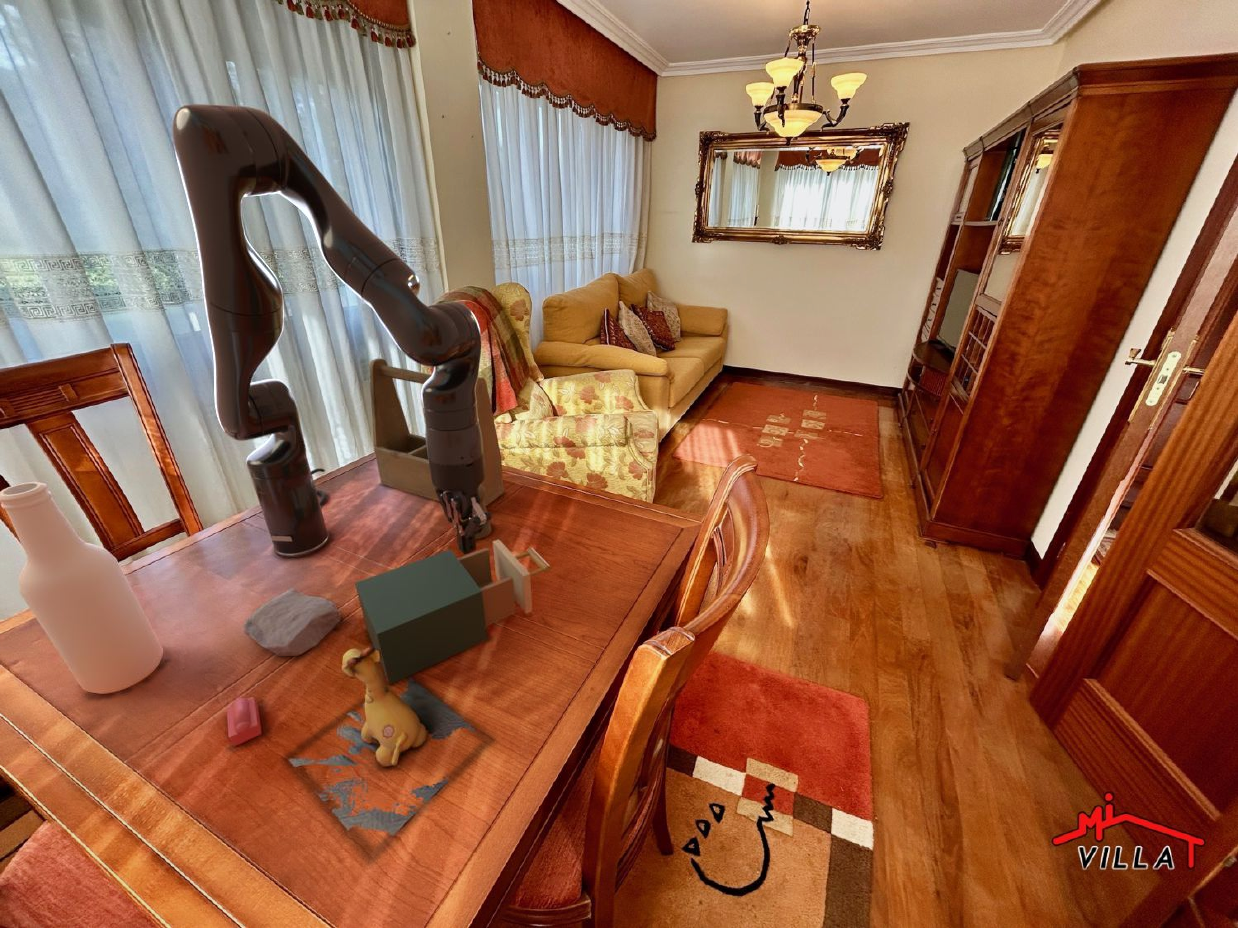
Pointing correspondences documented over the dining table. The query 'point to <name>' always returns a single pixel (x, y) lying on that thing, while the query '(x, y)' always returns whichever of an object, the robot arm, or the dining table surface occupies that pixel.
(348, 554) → the dining table surface
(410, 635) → the cabinet
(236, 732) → the red ridged block
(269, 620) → the stone block
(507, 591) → the drawer
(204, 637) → the dining table surface
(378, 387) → the caddy
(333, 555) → the dining table surface
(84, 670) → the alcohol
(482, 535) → the wooden peg doll
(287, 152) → the robot arm
